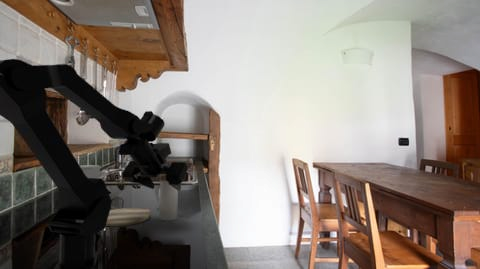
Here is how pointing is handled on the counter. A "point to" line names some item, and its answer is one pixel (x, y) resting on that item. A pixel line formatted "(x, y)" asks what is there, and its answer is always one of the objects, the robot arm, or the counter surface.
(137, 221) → the wooden board
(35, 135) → the robot arm
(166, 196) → the translucent tall glass
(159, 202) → the grey upright block
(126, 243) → the counter surface
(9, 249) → the counter surface
